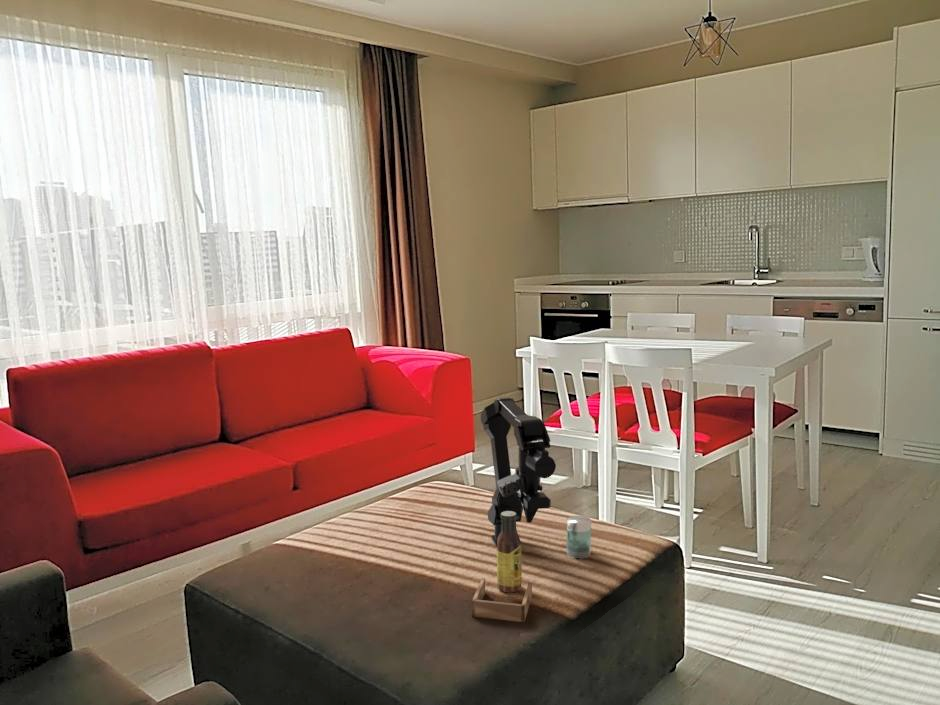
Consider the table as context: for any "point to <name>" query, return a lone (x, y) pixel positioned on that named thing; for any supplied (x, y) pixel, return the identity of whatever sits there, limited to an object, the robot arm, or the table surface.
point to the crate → (500, 606)
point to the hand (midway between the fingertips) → (528, 522)
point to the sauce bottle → (509, 554)
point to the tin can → (578, 536)
